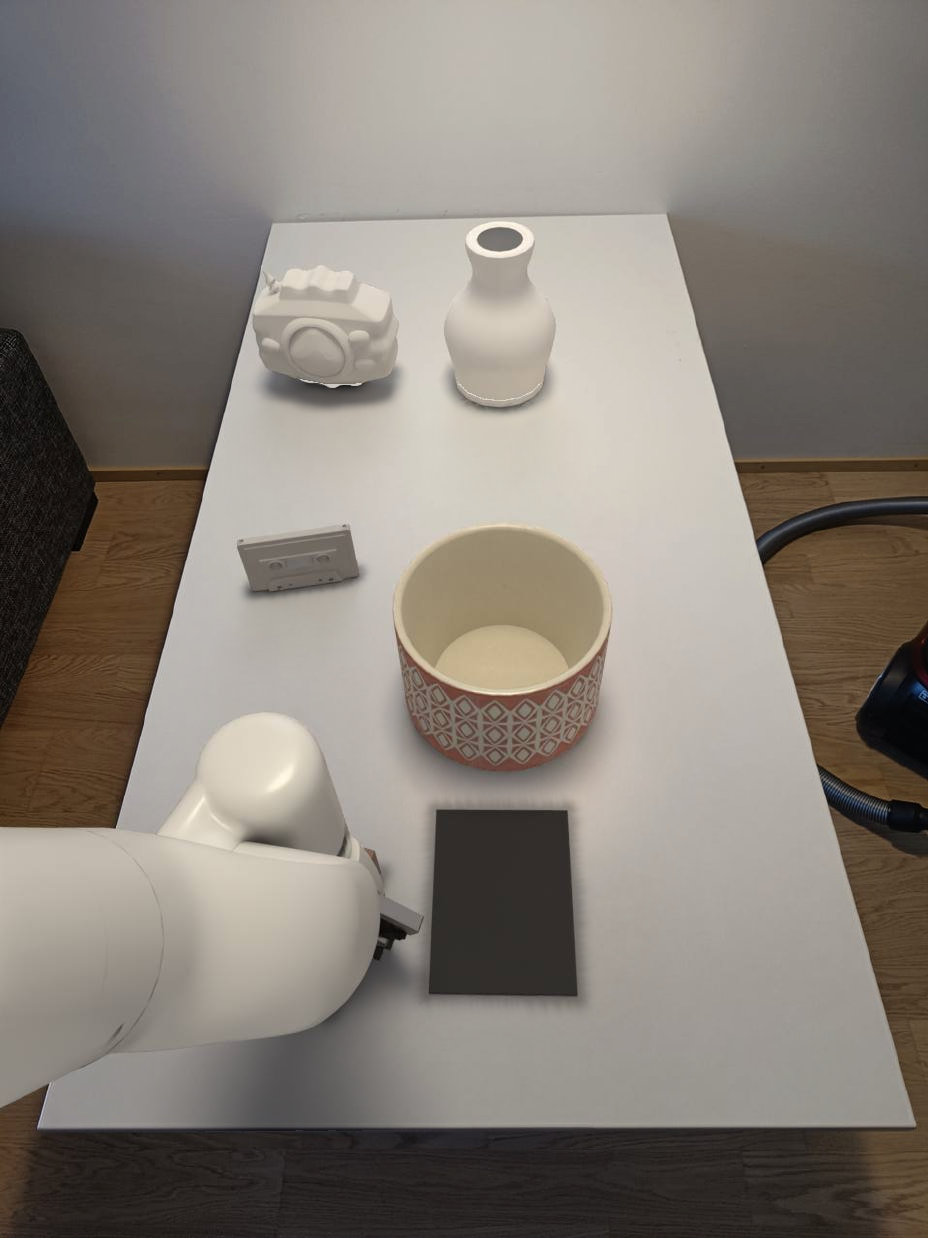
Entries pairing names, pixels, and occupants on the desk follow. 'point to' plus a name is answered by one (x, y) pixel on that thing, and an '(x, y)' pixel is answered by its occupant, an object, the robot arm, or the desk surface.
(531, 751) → the planter
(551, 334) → the vase
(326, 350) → the camera
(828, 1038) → the desk surface
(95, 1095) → the desk surface
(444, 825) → the black mat
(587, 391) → the desk surface
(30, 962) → the robot arm
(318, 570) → the cassette
